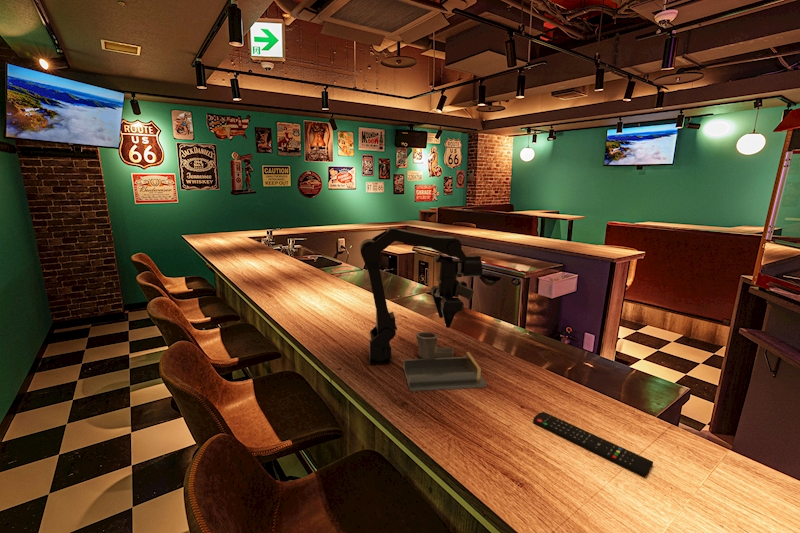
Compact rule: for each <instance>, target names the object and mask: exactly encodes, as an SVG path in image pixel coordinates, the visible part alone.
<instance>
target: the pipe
mask: <svg viewBox="0 0 800 533" xmlns="http://www.w3.org/2000/svg"><path fill="white" fill-rule="evenodd" d="M415 336H416V341H417V346H418V347H417V348H418V356H419V357H420V359H424V358H448V357H454V355H455V353H454V352H455V351H454V347H445V346H437V341H438V337H439V336H438V334H437V333H434V332H430V331H419V332H417V333H415Z"/></svg>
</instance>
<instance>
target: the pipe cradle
mask: <svg viewBox="0 0 800 533" xmlns="http://www.w3.org/2000/svg"><path fill="white" fill-rule="evenodd" d="M402 366H403V372H404V374H405V379H406V382H407V386H408V388H409V391H410V392H421V391H424V392H425V391H440V390H441V391H442V390H457V389H458V390H461V389H477V388H488V384H487V382H486V379H484V377H483V376H482V375H481V373H482V368H481V366H480V365H479V363H477V361H476V359H475V358H474V357H473V356H472V354H471V353H470V352H469V351H466V352H465V356H455V357H448V358H424V359H423V358H408V359H406V358H405V359H403V365H402Z"/></svg>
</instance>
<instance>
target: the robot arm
mask: <svg viewBox="0 0 800 533" xmlns="http://www.w3.org/2000/svg"><path fill="white" fill-rule="evenodd" d="M394 242H399V243H403V244H408V245H412V246H419V247H421V248H422V247H424V248H428V249H432V250H434V251H436V252H438V255H437V256H435V257H433V261H434V262H436V263H439V270H438V276H437V277H436V280H437V282H438V284H437V285H433V286H432V287H431V290H430V294H431V298H432V300H433V303H434V305H435V310H436V311H437V316H438V318H440V319H442V318H443V321H444V326H445V328H446V329H450V328H451V325H452V323H453V320H454V318H455V316H456V314H457V313H460V312H461V311H463V310H464V304H465V303H464V302H463V301H462V300H461V299H460V298H459V296H460V297H462V298H465V299H467V300H469V301H470V300H471V299H472V297H473V294H474V293H475V291H474V289H473V288H471V287H469V286H468V284H467V282H466V281H463V280H460V281H459V280H458V273H459V274H461V277H472V278H473V277H478V278H479V277H481V276H482V274H483V269H484V267H483V264H482V263H483V262H482V256H481V255H477V254H475V255H466V254H465V252H464V251H463V248H462V242H461V240H460V239H458V238H456V237H454V236H452V235H441V234H440V235H431V234H430V235H429V234H425V233H422V232H421V233H420V232H415V231H411V230H405V229H400V228H396V227H395V226H390V227H388V228H387V229H386V230H385V231H382V232H381V233H379V234H377V235H375V236H373V237H372V238H366V239H364V240H363V241H362V242H361V243H360V246H359V249H360V250H359V251H360V256H361V258H362V259H363V263H364V265H365V267H366V270H367V273H368V277H369V281H370V286H371V291H372V296H373V300H374V305H375V313H376V314H375V326H374V327H373V328H372V329H371V330H370V331H369V337H370V340H369V354H368V361H369V365H384V364H385V365H389V364H390V363H391V360H392V345H391V341H392V340H393V339H394V338H395V336H396V335H397V334H396V333H397V330H398V327H397V324H396V317H395V314H394V311H391V312H389V310H388V304H387V300H386V295H385V290H384V289H385V288H384V284H383V280H382V274H381V270H380V269H381V252H383V251H385V250H386V249H387V248H388V247H389V246H390V245H393V243H394ZM442 254H444V256H443V255H442ZM445 255H446V256H445ZM453 257H455V258H456V259H453Z"/></svg>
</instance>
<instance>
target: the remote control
mask: <svg viewBox="0 0 800 533" xmlns="http://www.w3.org/2000/svg"><path fill="white" fill-rule="evenodd" d="M532 423H533V424H535V425H536V426H539V427H541V428H542V429H544V430H547V431H549V432H551V433H552V434H555V435H556V436H558V437H561V438H563V439H565V440H568V441H569V442H571V443H573V444H576V445H577V446H580V447H582V448H583V449H586V450H588V451H590V452H592V453H593V454H596V455H598V456H600V457H602V458H604V459H605V460H608V461H610V462H612V463H614V464H616V465H618V466H620V465H621V466H620V467H622V466H623V467H622V468H624V467H625V468H624V469H626V468H627V470H628V469H629V471H630V470H631V471H630V472H632V471H633V472H632V473H634V474H636V473H637V475H638V474H639V475H638V476H640V477H643V478H645V477H646V478H647V476H648V474H649V472H650V471H649V470H651V469H652V467H653V464H654V461H652V460H650V459H648V458H645V457H644V456H642V455H640V454H637V453H635V452H633V451H631V450H629V449H627V448H624V447H622V446H619V445H618V444H615V443H613V442H611V441H609V440H606V439H605V438H602V437H600V436H598V435H596V434H594V433H591V432H589V431H587V430H585V429H582V428H580V427H578V426H577V425H575V424H572V423H570V422H567V421H565V420H562V419H560V418H558V417H557V416H554V415H552V414H549V413H548V412H545V411H542V412H539V413H537V414H536V415H535V416H534V417H533V420H532ZM650 468H651V469H650ZM646 475H647V476H646Z"/></svg>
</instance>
